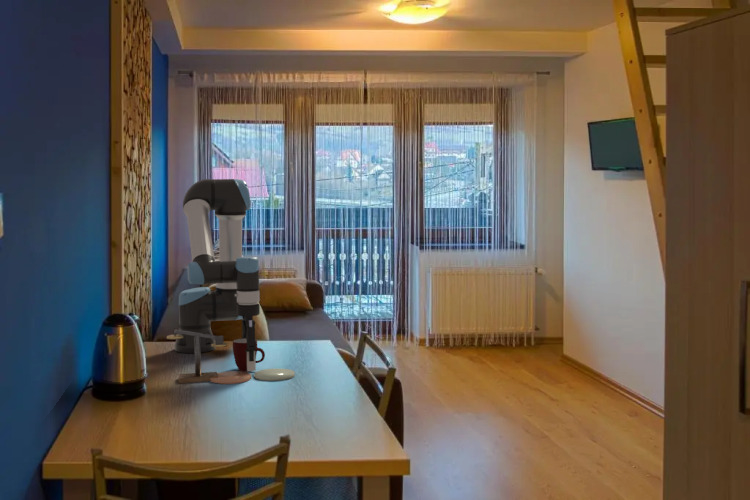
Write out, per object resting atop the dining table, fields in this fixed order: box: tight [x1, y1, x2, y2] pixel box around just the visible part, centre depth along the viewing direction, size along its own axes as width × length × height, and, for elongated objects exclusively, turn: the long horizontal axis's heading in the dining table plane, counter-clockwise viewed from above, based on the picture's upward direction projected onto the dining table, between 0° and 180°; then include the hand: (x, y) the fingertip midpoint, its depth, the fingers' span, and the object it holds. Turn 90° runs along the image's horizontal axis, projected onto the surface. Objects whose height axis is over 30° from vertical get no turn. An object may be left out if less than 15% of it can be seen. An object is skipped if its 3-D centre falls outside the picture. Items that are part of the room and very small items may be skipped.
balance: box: [166, 329, 228, 384], centre depth 239 cm, size 6×19×16 cm, turn 105°
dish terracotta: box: [209, 370, 252, 385], centre depth 240 cm, size 13×13×1 cm
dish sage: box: [253, 368, 296, 382], centre depth 244 cm, size 13×13×1 cm
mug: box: [232, 338, 266, 372], centre depth 252 cm, size 10×8×10 cm
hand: (249, 366), depth 252 cm, fingers open, 13 cm apart
